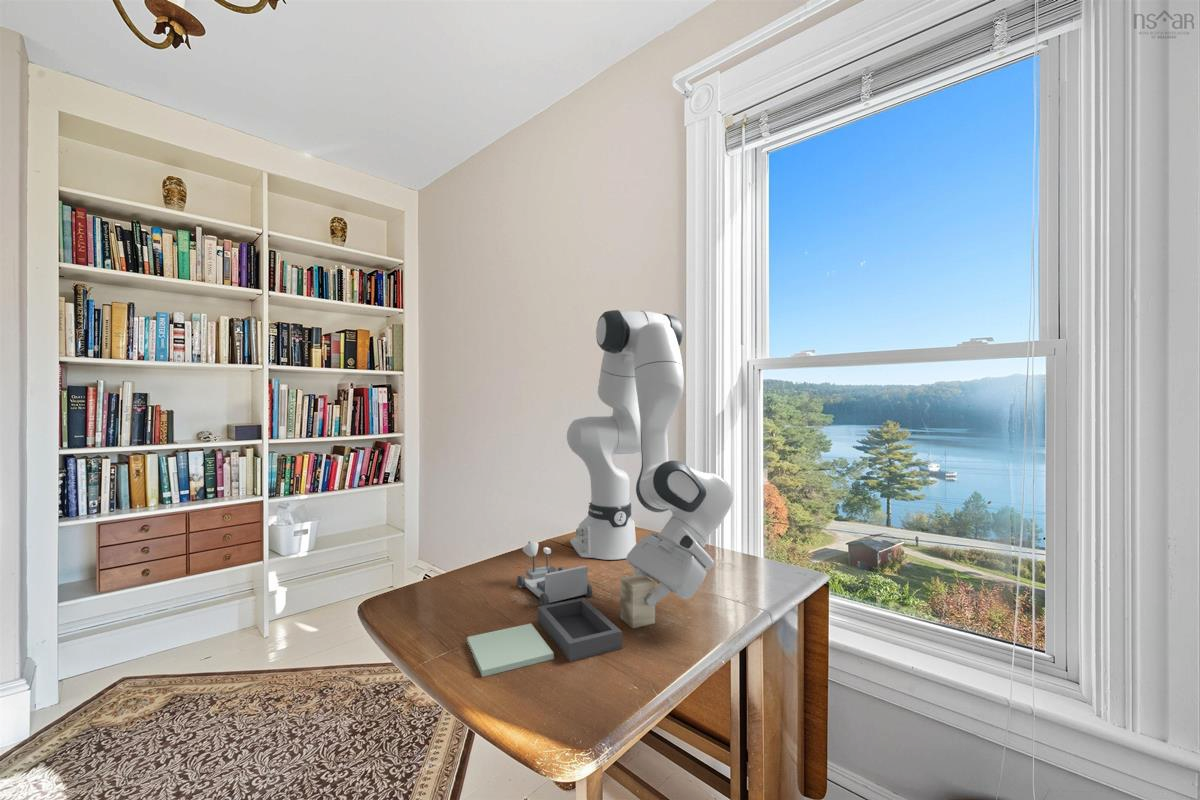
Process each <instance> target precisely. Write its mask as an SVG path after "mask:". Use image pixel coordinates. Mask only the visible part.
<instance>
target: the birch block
mask: <svg viewBox="0 0 1200 800" xmlns="http://www.w3.org/2000/svg"><path fill="white" fill-rule="evenodd" d="M619 582H620V589H619V590H620V592H619V593H620V594H619V595H620V596H619V597H620V598H619V599H620V600H619V603H620V604H619V605H620V607H619V609H620V610H619V612H620V613H619V617H620V619H621V620H622V621H623V622H624V623H625V624H627V625H628V626H629V627H630V628H631V629H637V628H641V627H645V626H649V625H653V624H656V604H655V605H654V607H651V606H649V605H648V604H647V603H646V602H645V601H644V598H645V597H646V595H647V594H648V593H650V594H651V593H652V592H654V591H655V590H656V582H655V581H654V580H652V579H650V578H649V577H647V576H644V575H642V574H640V575H634V576H633V575H630V576H625V577H620V579H619Z"/></svg>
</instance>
